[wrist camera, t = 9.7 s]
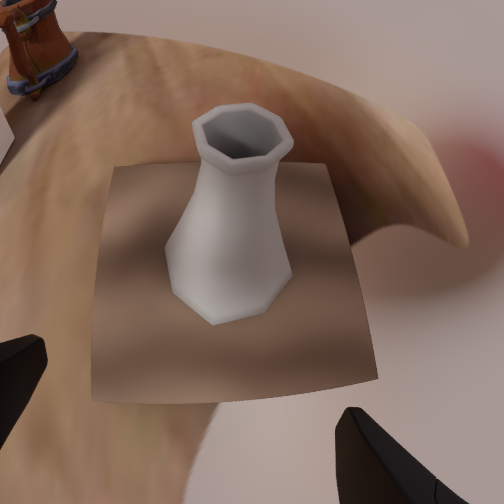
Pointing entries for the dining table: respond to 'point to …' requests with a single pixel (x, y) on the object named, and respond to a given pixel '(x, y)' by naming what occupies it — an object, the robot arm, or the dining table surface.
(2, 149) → the milk carton
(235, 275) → the flask
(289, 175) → the walnut board
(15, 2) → the mug
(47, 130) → the dining table surface
